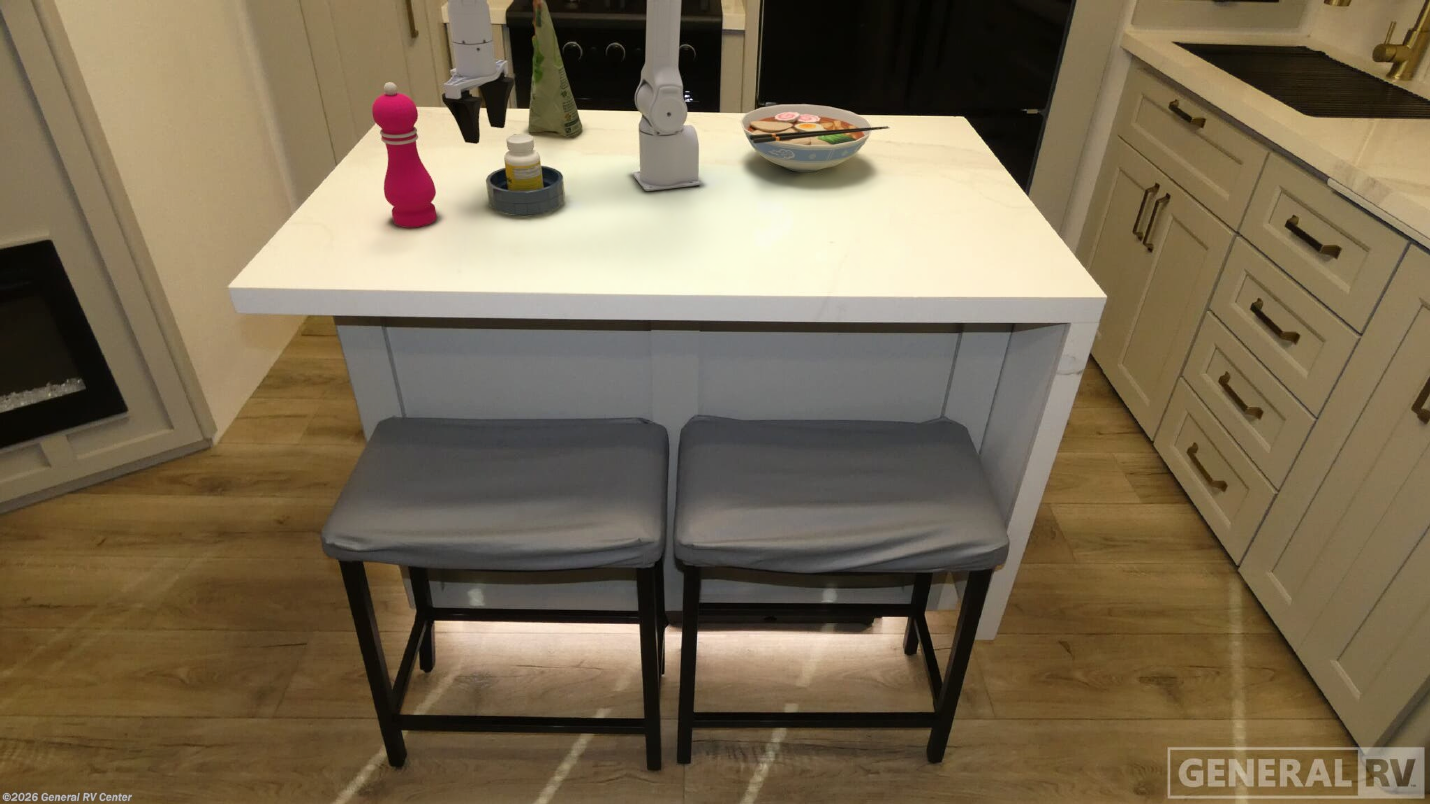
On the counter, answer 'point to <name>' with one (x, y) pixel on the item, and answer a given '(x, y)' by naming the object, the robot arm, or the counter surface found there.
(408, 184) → the pepper mill
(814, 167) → the ramen bowl
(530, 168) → the supplement bottle
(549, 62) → the pouch
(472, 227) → the counter surface
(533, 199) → the bowl
